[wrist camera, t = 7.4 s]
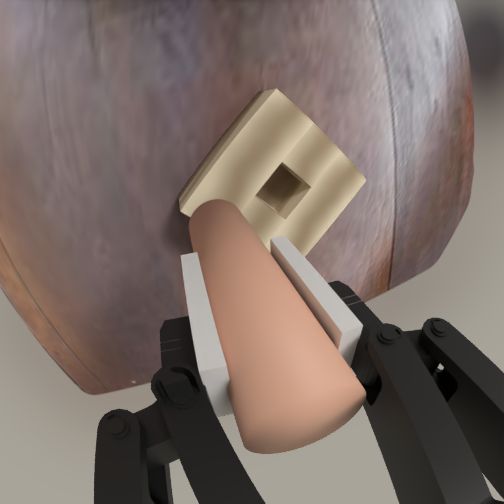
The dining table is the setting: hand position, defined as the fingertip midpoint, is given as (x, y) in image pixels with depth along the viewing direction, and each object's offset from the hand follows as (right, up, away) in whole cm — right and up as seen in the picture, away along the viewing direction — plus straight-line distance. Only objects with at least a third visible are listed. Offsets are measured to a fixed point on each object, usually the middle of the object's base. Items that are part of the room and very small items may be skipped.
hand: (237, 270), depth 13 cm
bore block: (+3, +10, +22) cm, 25 cm away
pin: (-2, +3, +5) cm, 6 cm away
